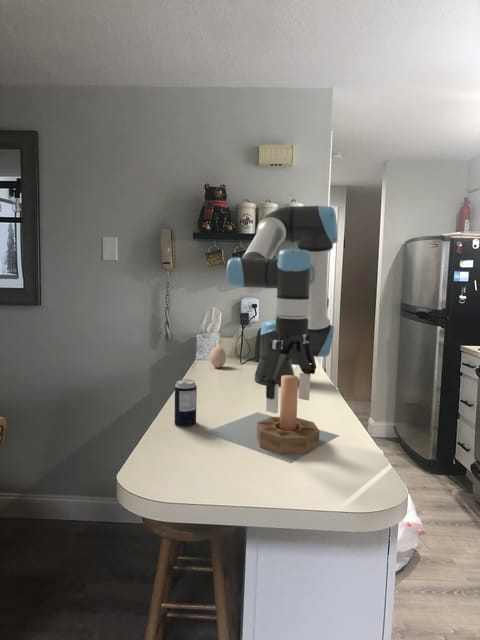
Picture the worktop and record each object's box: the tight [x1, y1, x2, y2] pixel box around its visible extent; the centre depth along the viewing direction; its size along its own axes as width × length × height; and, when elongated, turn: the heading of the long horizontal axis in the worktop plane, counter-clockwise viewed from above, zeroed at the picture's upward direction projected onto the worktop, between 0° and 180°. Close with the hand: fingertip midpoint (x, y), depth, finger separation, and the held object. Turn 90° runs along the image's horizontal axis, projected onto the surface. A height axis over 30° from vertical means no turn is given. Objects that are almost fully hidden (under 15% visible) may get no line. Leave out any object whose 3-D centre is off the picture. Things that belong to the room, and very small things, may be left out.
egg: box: [209, 345, 227, 369], centre depth 187 cm, size 7×7×9 cm
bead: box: [257, 416, 321, 455], centre depth 107 cm, size 14×14×4 cm
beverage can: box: [174, 378, 198, 428], centre depth 118 cm, size 6×6×12 cm
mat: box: [204, 411, 340, 464], centre depth 113 cm, size 22×26×1 cm
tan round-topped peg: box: [279, 375, 299, 431], centre depth 106 cm, size 4×4×16 cm
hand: (288, 405), depth 106 cm, fingers open, 13 cm apart
